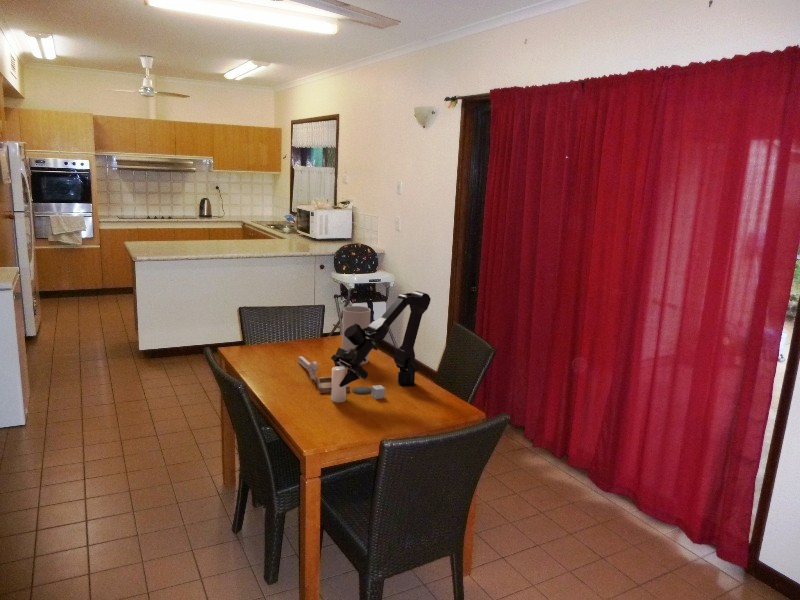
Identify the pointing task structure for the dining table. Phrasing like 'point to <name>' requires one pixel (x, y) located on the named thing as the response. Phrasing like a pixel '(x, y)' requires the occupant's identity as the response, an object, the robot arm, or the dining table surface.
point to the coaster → (362, 390)
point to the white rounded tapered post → (336, 391)
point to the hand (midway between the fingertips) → (335, 384)
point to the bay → (326, 384)
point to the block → (378, 392)
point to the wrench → (309, 366)
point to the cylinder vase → (350, 318)
